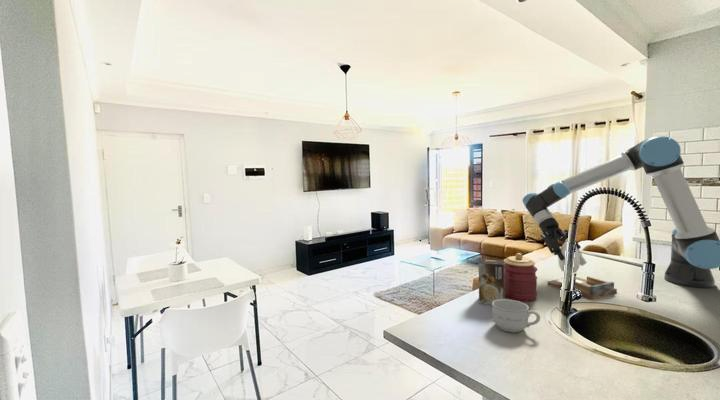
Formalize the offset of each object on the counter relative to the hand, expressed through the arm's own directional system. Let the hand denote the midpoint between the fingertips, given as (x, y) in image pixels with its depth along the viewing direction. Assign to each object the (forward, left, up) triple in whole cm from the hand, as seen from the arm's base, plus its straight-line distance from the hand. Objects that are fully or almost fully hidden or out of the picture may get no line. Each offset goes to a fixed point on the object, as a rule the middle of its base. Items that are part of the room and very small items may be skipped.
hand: (576, 265), depth 135 cm
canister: (+28, -4, -10) cm, 30 cm away
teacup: (+51, +16, -10) cm, 55 cm away
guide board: (-1, +1, -10) cm, 10 cm away
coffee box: (+42, -4, -10) cm, 44 cm away
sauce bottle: (0, -4, -5) cm, 6 cm away
